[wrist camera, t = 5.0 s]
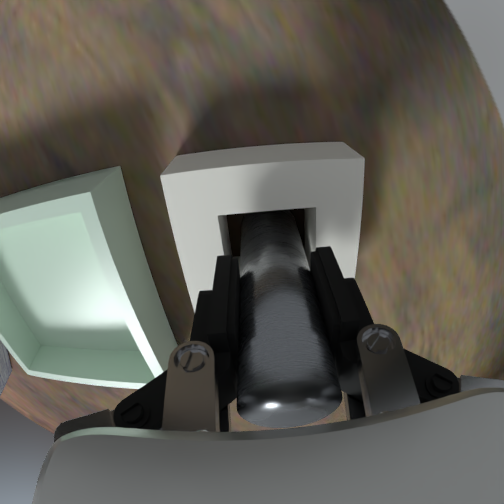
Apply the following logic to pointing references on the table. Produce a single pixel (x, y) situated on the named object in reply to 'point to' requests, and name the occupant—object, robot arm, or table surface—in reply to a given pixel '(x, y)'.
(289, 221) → the lock pin
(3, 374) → the medicine box
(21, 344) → the tray
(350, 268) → the pin holder
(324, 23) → the table surface
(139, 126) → the table surface
